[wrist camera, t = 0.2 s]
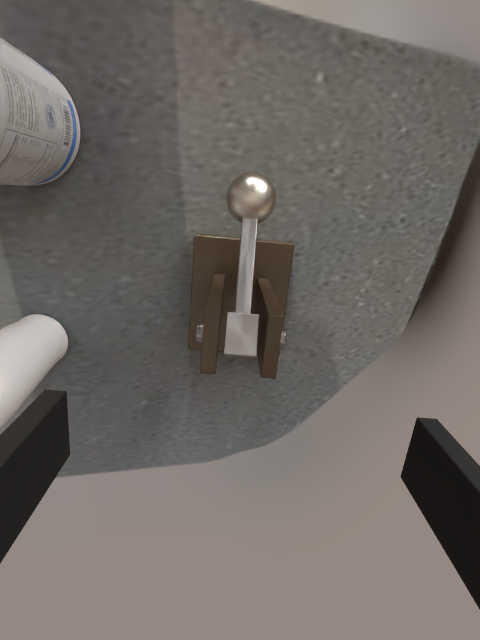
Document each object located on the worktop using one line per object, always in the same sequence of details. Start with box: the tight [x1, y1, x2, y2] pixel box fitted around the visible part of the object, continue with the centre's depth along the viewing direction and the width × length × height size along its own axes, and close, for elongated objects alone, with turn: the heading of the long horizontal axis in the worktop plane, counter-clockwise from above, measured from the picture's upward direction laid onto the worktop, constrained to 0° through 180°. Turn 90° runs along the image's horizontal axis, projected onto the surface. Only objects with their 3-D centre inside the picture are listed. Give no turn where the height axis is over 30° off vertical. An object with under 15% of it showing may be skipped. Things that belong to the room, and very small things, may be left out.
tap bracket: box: [188, 234, 294, 379], centre depth 30 cm, size 11×9×13 cm
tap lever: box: [223, 172, 276, 358], centre depth 26 cm, size 13×4×4 cm, turn 175°
